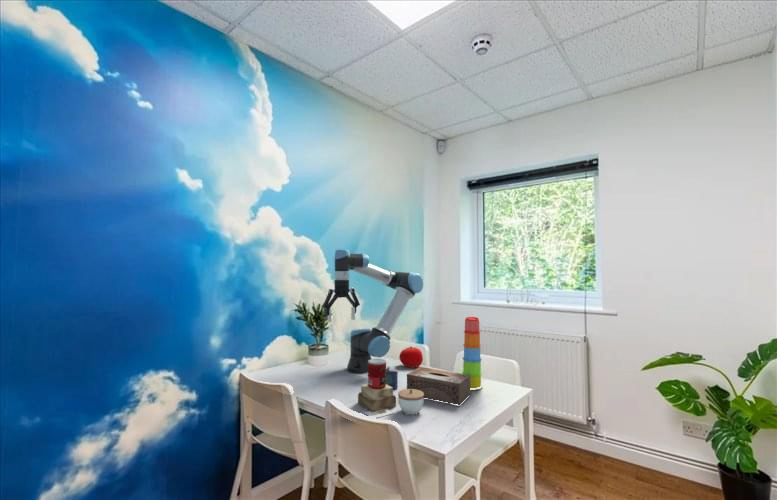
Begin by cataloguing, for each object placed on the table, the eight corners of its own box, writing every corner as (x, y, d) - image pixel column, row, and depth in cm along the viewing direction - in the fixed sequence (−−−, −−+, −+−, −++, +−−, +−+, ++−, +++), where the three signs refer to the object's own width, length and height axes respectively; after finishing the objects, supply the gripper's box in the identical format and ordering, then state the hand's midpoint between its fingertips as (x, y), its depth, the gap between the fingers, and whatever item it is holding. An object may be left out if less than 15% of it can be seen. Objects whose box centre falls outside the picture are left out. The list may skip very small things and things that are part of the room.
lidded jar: (396, 407, 158) (396, 385, 159) (421, 406, 159) (421, 384, 159) (399, 417, 148) (399, 394, 148) (426, 417, 148) (426, 393, 149)
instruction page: (384, 407, 157) (384, 407, 157) (393, 413, 152) (393, 412, 152) (363, 413, 152) (363, 412, 152) (372, 419, 146) (372, 418, 146)
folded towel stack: (381, 397, 169) (381, 380, 169) (396, 406, 159) (396, 387, 159) (357, 403, 162) (357, 384, 163) (372, 412, 152) (372, 393, 152)
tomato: (419, 370, 212) (419, 350, 212) (397, 368, 217) (397, 348, 217) (425, 365, 223) (425, 346, 224) (403, 362, 228) (403, 344, 229)
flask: (398, 388, 182) (398, 366, 182) (396, 390, 179) (396, 368, 180) (380, 386, 185) (380, 364, 185) (378, 388, 182) (378, 366, 182)
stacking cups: (486, 387, 185) (485, 317, 186) (475, 392, 177) (475, 319, 178) (468, 382, 192) (468, 315, 193) (457, 387, 184) (457, 317, 185)
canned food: (383, 390, 156) (384, 363, 157) (365, 388, 158) (365, 362, 158) (387, 384, 164) (387, 359, 164) (370, 382, 165) (370, 358, 166)
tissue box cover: (406, 395, 173) (406, 374, 173) (420, 386, 185) (420, 366, 186) (459, 407, 160) (459, 383, 160) (470, 396, 172) (470, 375, 172)
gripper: (322, 280, 181) (321, 323, 181) (366, 279, 195) (366, 319, 194) (316, 279, 188) (315, 321, 187) (359, 278, 201) (359, 317, 201)
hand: (341, 320), depth 191 cm, fingers open, 13 cm apart
